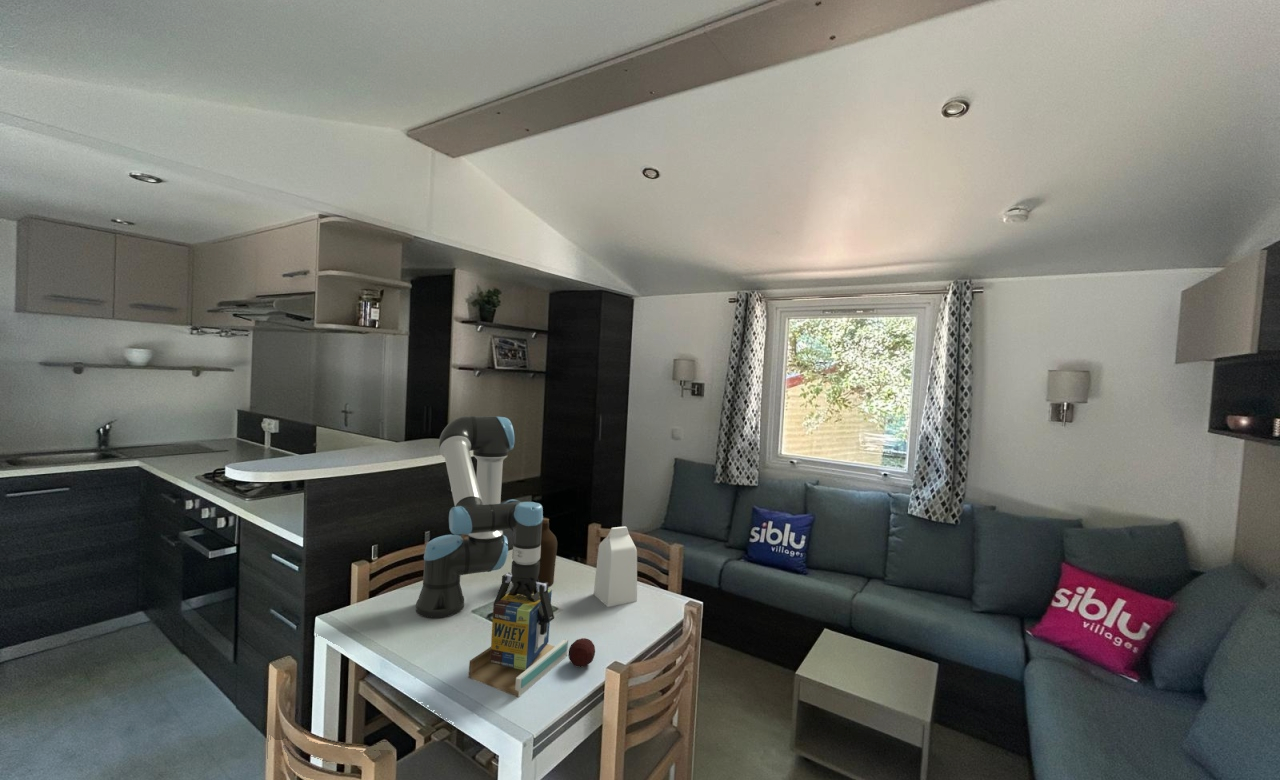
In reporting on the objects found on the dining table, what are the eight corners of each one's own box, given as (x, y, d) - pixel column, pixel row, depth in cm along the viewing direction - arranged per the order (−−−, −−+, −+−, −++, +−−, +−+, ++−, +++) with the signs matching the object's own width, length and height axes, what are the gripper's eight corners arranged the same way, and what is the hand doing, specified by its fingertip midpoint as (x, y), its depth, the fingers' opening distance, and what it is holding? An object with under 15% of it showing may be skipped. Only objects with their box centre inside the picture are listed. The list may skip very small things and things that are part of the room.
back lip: (468, 677, 132) (469, 660, 132) (521, 640, 152) (522, 625, 152) (471, 678, 131) (472, 661, 131) (524, 641, 151) (525, 626, 151)
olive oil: (551, 590, 189) (555, 523, 189) (523, 587, 189) (527, 521, 189) (557, 579, 200) (561, 516, 199) (531, 576, 200) (534, 514, 200)
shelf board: (468, 677, 132) (468, 671, 132) (521, 640, 152) (521, 635, 152) (518, 697, 125) (518, 691, 125) (566, 655, 145) (567, 650, 145)
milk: (607, 606, 178) (612, 533, 177) (593, 594, 188) (597, 524, 187) (636, 601, 184) (641, 530, 183) (621, 589, 194) (626, 521, 193)
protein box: (489, 664, 132) (492, 605, 132) (516, 635, 147) (519, 583, 147) (526, 671, 130) (529, 611, 129) (549, 642, 145) (552, 588, 144)
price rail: (514, 695, 125) (515, 677, 125) (563, 654, 145) (564, 639, 145) (519, 697, 125) (520, 679, 125) (567, 655, 145) (568, 640, 145)
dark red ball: (597, 660, 144) (598, 635, 144) (589, 675, 136) (590, 649, 136) (572, 655, 145) (574, 631, 145) (563, 670, 138) (565, 644, 138)
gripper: (482, 555, 139) (478, 633, 140) (554, 573, 130) (549, 657, 130) (500, 548, 146) (496, 622, 147) (570, 564, 136) (565, 644, 137)
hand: (521, 639), depth 138 cm, fingers closed on protein box, 11 cm apart
